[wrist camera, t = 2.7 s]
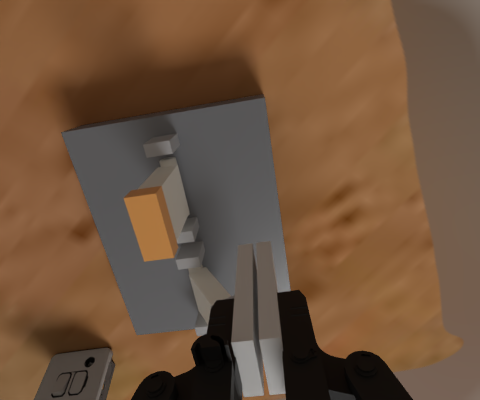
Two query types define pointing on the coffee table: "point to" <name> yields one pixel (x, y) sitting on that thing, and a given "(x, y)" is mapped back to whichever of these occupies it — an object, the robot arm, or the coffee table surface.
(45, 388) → the electrical switch
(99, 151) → the breaker panel
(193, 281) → the breaker
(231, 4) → the coffee table surface
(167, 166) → the breaker
